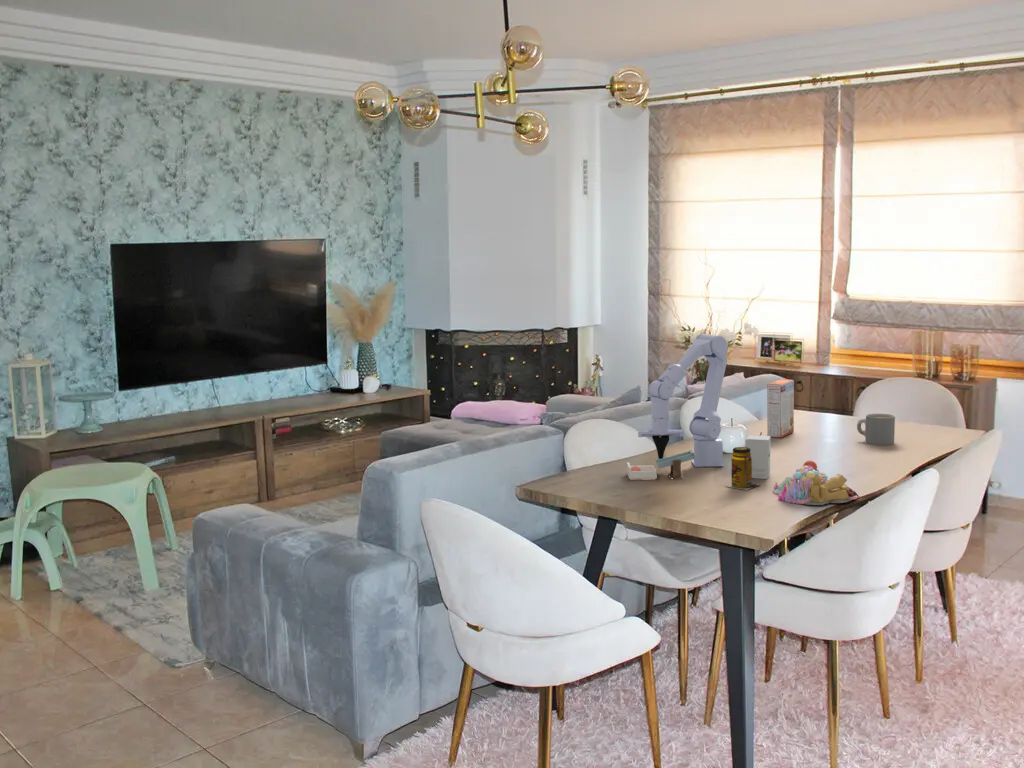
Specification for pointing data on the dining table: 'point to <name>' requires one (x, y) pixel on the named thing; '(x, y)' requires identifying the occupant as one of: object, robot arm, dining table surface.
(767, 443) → the supplement box
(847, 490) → the candy landscape model
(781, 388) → the cracker box
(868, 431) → the coffee mug
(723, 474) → the dining table surface
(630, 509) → the dining table surface
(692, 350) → the robot arm
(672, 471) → the fulcrum
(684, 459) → the lever
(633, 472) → the dish
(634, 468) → the ball
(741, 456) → the condiment
